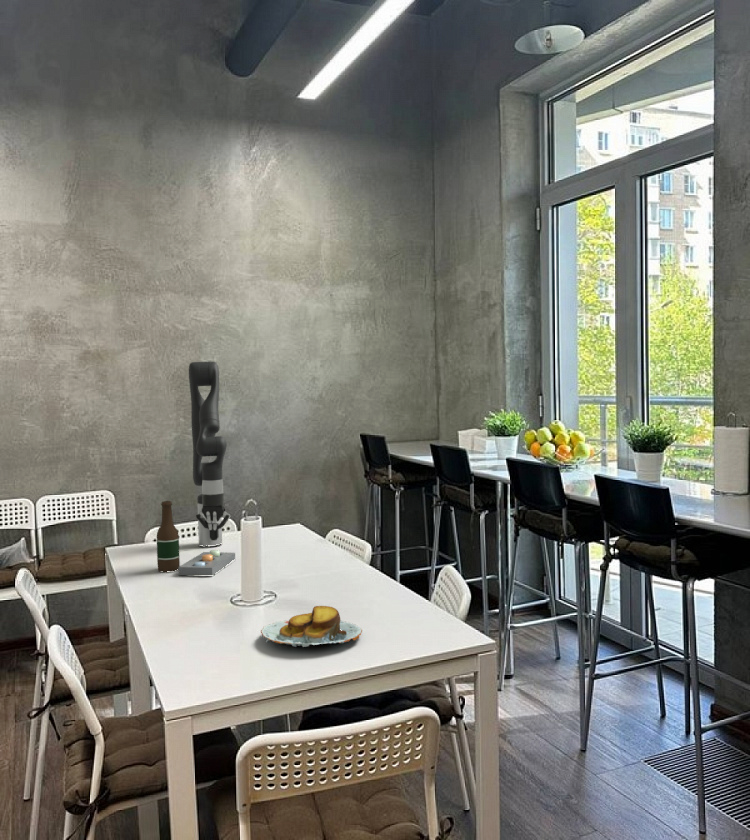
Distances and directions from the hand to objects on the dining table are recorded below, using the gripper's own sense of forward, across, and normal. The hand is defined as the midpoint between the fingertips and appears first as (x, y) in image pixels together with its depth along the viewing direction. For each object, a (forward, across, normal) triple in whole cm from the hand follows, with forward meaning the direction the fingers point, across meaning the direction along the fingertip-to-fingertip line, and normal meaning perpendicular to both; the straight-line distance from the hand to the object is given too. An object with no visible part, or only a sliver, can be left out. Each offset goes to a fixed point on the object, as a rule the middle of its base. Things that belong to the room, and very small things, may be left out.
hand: (214, 540), depth 275 cm
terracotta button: (+7, 0, +7) cm, 10 cm away
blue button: (+8, 0, +14) cm, 16 cm away
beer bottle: (+9, +13, +10) cm, 19 cm away
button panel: (+8, 0, +7) cm, 11 cm away
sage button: (+7, 0, 0) cm, 7 cm away
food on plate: (+9, -54, +74) cm, 92 cm away
